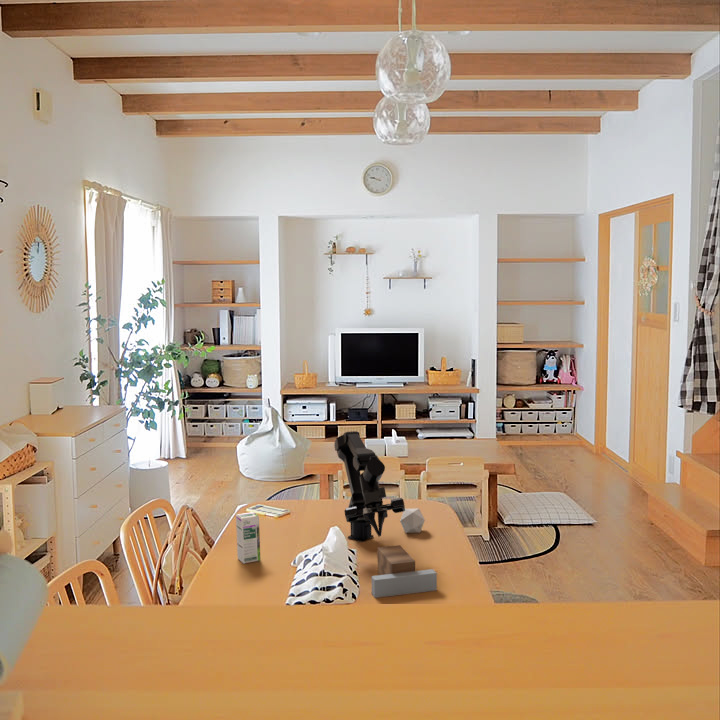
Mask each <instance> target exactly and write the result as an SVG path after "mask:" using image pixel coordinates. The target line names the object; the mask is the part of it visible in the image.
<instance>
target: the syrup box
mask: <svg viewBox="0 0 720 720" xmlns="http://www.w3.org/2000/svg"><path fill="white" fill-rule="evenodd" d="M235 526H236V529H235V530H236V542H237V543H236V546H237V548H236V550H237V551H236V552H237V554H236V555H237V559H238V560H239V561H240V562H241V564H248V563H254V562H260V561H261V540H260V539H261V538H260V536H261V535H260V533H261V532H260V516H259V515H258V514H257V512H255V511H250V512H245V513H237V514H235Z"/></svg>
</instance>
